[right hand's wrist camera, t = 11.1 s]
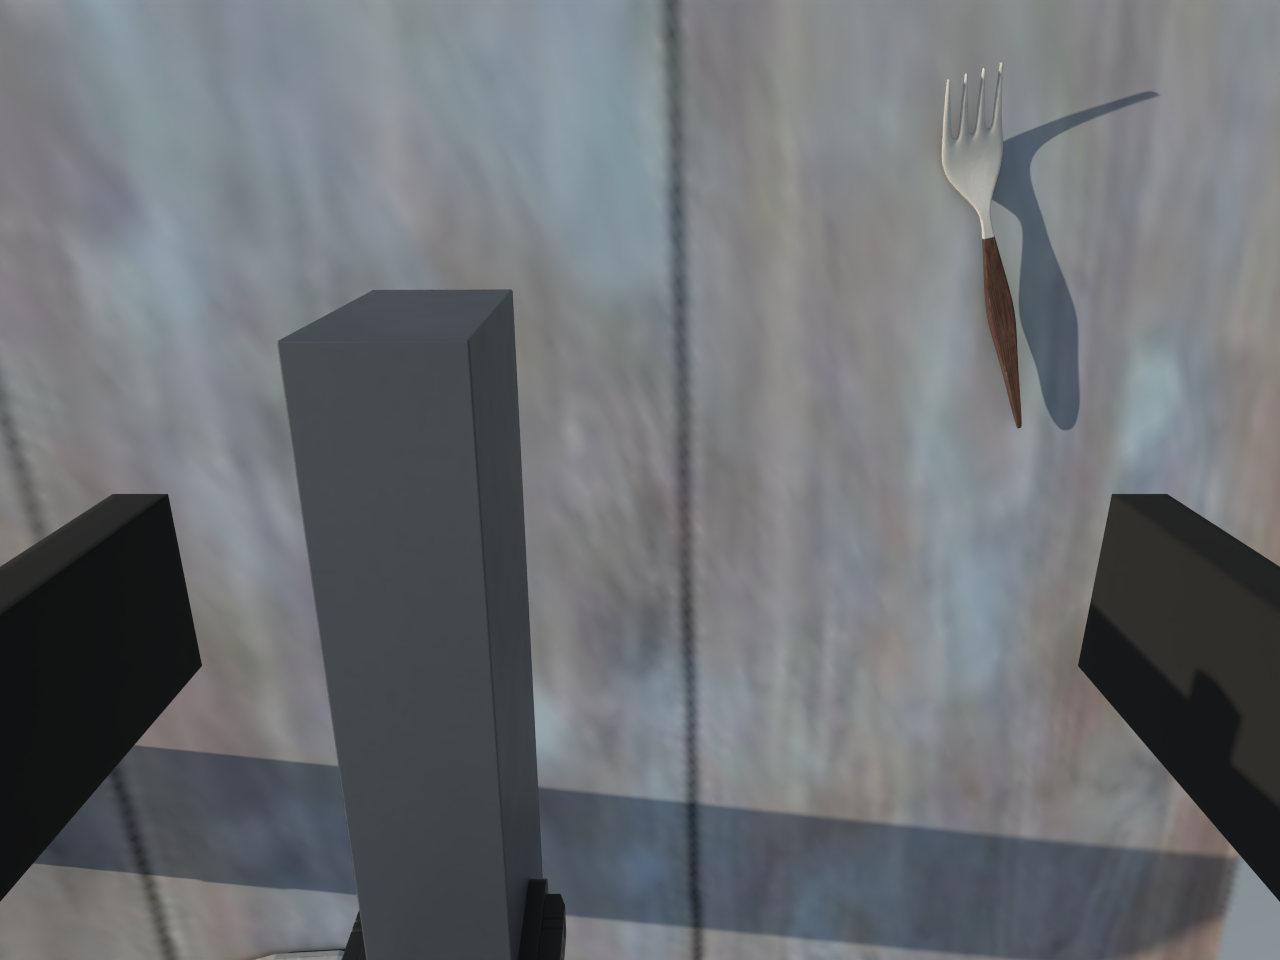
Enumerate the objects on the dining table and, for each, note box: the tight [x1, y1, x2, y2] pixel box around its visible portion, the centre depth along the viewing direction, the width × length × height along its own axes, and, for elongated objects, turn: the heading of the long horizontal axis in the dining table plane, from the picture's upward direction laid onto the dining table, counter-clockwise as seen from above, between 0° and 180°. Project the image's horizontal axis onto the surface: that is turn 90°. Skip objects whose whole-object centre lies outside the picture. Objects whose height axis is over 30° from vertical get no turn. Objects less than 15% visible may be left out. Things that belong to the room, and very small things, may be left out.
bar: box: [277, 290, 543, 960], centre depth 28 cm, size 24×4×8 cm, turn 0°
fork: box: [942, 62, 1021, 428], centre depth 39 cm, size 3×16×2 cm, turn 17°
